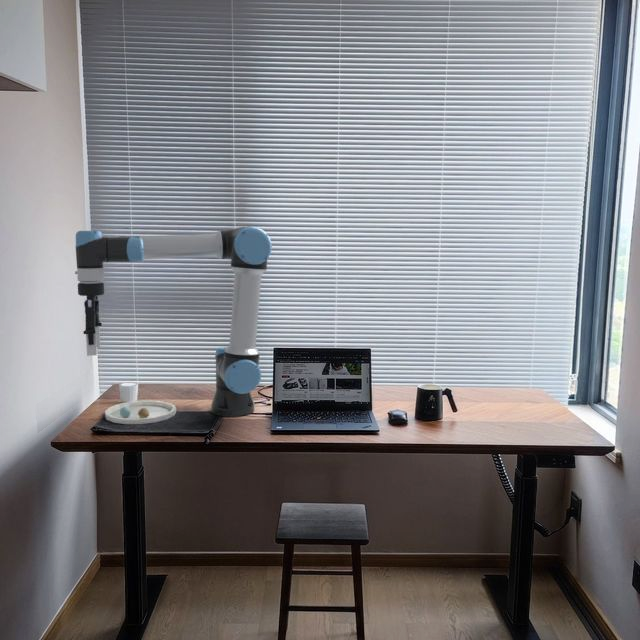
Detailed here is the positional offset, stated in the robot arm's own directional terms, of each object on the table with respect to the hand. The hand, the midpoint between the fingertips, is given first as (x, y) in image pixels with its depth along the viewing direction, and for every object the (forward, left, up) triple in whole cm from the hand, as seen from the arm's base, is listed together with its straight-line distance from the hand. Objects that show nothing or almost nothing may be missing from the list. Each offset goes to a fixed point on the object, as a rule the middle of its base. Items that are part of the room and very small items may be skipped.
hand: (93, 351), depth 195 cm
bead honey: (-16, -7, -25) cm, 30 cm away
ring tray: (-16, -13, -26) cm, 33 cm away
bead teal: (-10, -11, -25) cm, 29 cm away
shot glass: (-15, -33, -26) cm, 45 cm away
